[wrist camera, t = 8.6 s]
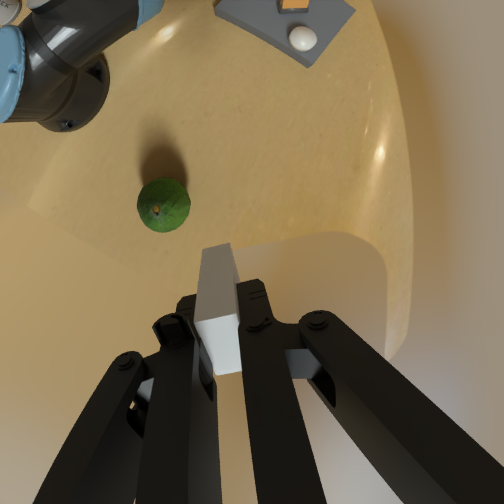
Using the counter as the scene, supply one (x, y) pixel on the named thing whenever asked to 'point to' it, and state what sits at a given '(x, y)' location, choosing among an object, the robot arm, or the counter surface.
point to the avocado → (163, 204)
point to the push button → (302, 39)
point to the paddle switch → (293, 6)
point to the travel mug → (9, 11)
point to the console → (288, 23)
